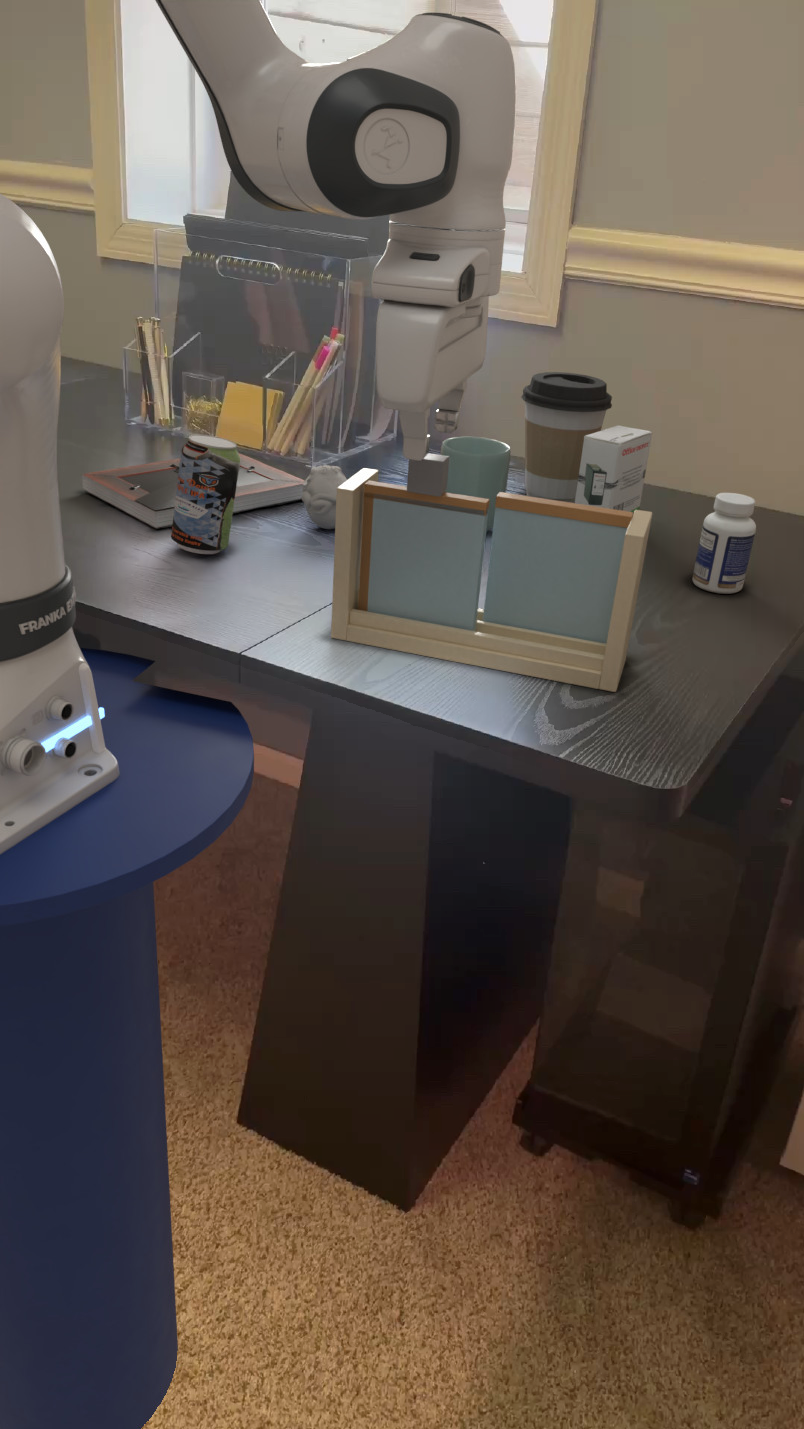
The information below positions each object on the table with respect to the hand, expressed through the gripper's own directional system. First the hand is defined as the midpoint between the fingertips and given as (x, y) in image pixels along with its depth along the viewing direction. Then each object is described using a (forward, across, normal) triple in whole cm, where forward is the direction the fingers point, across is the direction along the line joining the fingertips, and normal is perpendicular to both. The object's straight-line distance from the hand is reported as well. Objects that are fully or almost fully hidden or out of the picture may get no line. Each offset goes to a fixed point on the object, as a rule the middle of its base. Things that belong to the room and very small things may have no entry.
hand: (431, 444), depth 91 cm
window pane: (+17, 0, 0) cm, 17 cm away
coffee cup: (+19, -51, +4) cm, 54 cm away
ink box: (+19, -41, +12) cm, 47 cm away
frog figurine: (+18, -26, -18) cm, 37 cm away
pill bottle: (+19, -28, +26) cm, 42 cm away
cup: (+19, -33, -4) cm, 38 cm away
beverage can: (+18, -13, -28) cm, 35 cm away
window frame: (+18, -1, +6) cm, 19 cm away
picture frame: (+18, -29, -36) cm, 50 cm away
